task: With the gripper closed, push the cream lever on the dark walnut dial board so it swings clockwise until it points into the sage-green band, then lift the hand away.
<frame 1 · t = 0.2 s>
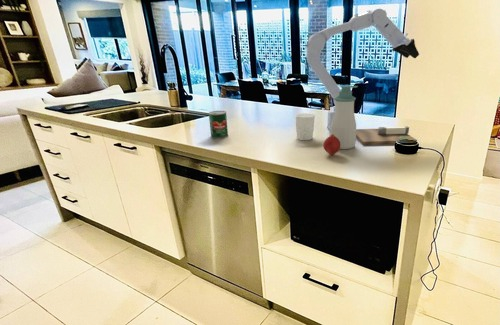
hand: (412, 56, 125), 31 cm above the countertop, tool tilted 45°, fingers open, 7 cm apart
canned tomato: (219, 136, 137), on the countertop
dial board: (381, 137, 123), on the countertop
white cup: (304, 138, 128), on the countertop
onion: (331, 155, 107), on the countertop
dial lever: (393, 130, 122), point 3 cm above the countertop, hinge at 0.0°
soap bottle: (341, 146, 116), on the countertop
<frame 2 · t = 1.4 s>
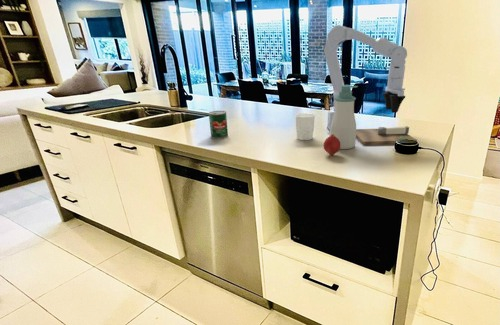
hand: (391, 110, 127), 9 cm above the countertop, tool pointing down, fingers open, 5 cm apart
nothing on the countertop moved.
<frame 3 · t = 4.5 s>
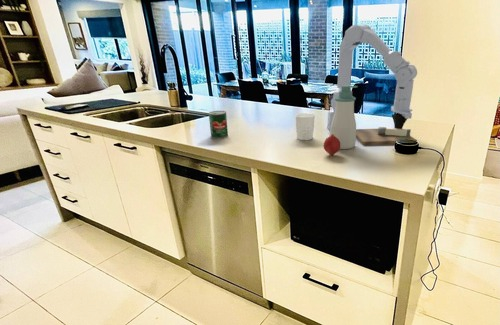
hand: (397, 132, 121), 3 cm above the countertop, tool pointing down, fingers closed, pressing on dial lever
dial lever: (393, 131, 120), point 3 cm above the countertop, hinge at 25.5°, touching gripper
everything else where it was.
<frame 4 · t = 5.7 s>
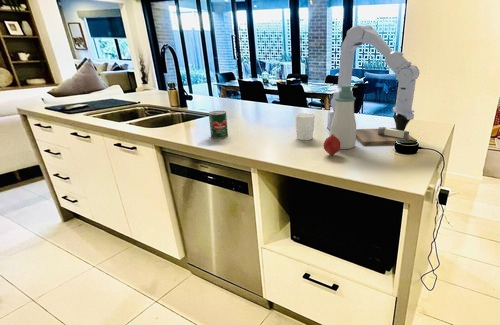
hand: (399, 133, 119), 3 cm above the countertop, tool pointing down, fingers closed
dial lever: (392, 132, 119), point 3 cm above the countertop, hinge at 45.7°, touching gripper
everything else where it was.
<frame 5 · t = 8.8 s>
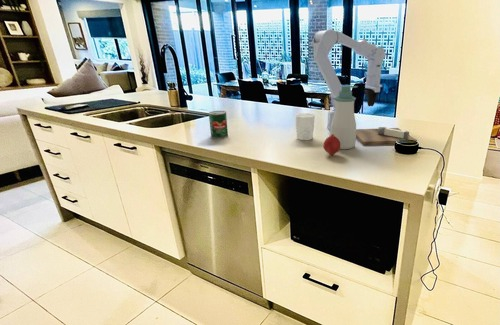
hand: (370, 105, 138), 9 cm above the countertop, tool pointing down, fingers closed
dial lever: (392, 132, 119), point 3 cm above the countertop, hinge at 45.8°
everything else where it was.
at the end: dial lever at +46° (first picture: +0°) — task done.
